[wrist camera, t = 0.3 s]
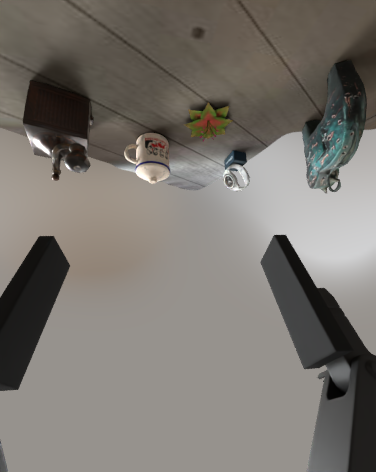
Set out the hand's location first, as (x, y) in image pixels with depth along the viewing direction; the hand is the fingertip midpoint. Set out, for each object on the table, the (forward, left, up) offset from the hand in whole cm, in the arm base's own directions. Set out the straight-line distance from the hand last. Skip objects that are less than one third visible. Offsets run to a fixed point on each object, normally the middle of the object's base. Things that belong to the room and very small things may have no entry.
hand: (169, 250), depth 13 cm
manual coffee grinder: (+12, -29, -35) cm, 47 cm away
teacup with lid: (+30, -21, -35) cm, 51 cm away
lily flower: (+30, -4, -35) cm, 46 cm away
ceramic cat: (+36, +20, -35) cm, 54 cm away
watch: (+48, -1, -35) cm, 59 cm away
